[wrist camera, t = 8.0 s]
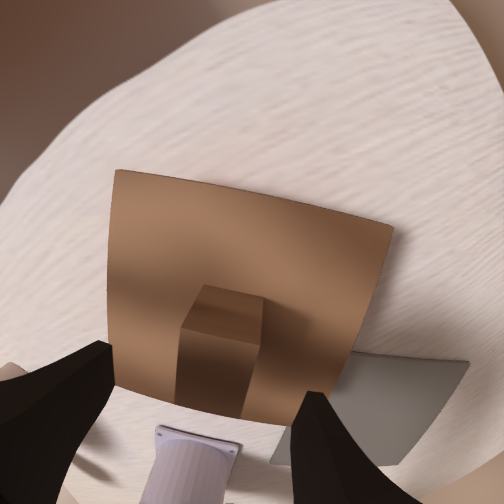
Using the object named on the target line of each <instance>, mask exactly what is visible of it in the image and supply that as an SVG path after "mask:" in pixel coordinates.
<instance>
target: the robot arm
mask: <svg viewBox="0 0 504 504" xmlns="http://www.w3.org/2000/svg"><path fill="white" fill-rule="evenodd" d="M114 386H115V376H114V364H113V348H112V345H111V344H108V343H105V342H102V341H100V340H98V341H96V342H93V343H91V344H89V345H87V346H86V347H84V348H82V349H80V350H78V351H76V352H74V353H72V354H70V355H68V356H66V357H64V358H62V359H60V360H58V361H56V362H54V363H51V364H49V365H47V366H45V367H42V368H40V369H38V370H35V371H33V372H30V373H27V374H25V375H22V376H18V377H15V378H12V379H8V380H4V381H0V504H56V502H57V499H58V495H59V492H60V489H61V486H62V484H63V481H64V479H65V476H66V473H67V471H68V469H69V466H70V464H71V462H72V460H73V457H74V455H75V453H76V451H77V449H78V447H79V446H80V444H81V442H82V441H83V439H84V438H85V436H86V434H87V433H88V431H89V430H90V428H91V427H92V425H93V424H94V422H95V421H96V419H97V418H98V416H99V414H100V413H101V411H102V410H103V408H104V407H105V405H106V403H107V401H108V399H109V397H110V395H111V392H112V390H113V388H114ZM155 443H156V459H155V461H154V464H153V467H152V469H151V472H150V475H149V478H148V480H147V483H146V486H145V489H144V491H143V494H142V497H141V500H140V502H139V504H223V501H224V494H225V488H226V484H227V481H228V479H229V476H230V473H231V470H232V467H233V464H234V461H235V458H236V455H237V452H238V449H239V446H238V445H237V444H233V443H228V442H223V441H218V440H213V439H208V438H204V437H200V436H195V435H191V434H187V433H183V432H180V431H176V430H172V429H169V428H165V427H162V426H157V427H156V429H155ZM290 456H291V469H292V482H293V494H294V504H422V503H421V502H419V501H418V500H416V499H414V498H413V497H411V496H410V495H409V494H407V493H406V492H405V491H403V490H402V489H401V488H399V487H398V486H397V485H396V484H395V483H393V482H392V481H391V480H390V479H389V478H388V477H387V476H386V475H384V474H383V473H382V472H381V471H380V470H379V469H378V467H377V466H376V465H375V464H374V463H373V462H372V461H371V460H370V459H369V458H368V457H367V456H366V454H365V453H364V452H363V451H362V449H361V448H360V447H359V446H358V444H357V443H356V442H355V440H354V439H353V438H352V436H351V435H350V433H349V432H348V430H347V429H346V427H345V426H344V424H343V423H342V421H341V420H340V418H339V417H338V415H337V414H336V412H335V410H334V409H333V407H332V406H331V404H330V402H329V401H328V399H327V397H326V396H325V394H324V393H323V392H314V391H307V392H306V395H305V397H304V399H303V402H302V404H301V406H300V408H299V410H298V413H297V415H296V417H295V419H294V421H293V423H292V425H291V438H290Z"/></svg>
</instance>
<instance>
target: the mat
mask: <svg viewBox="0 0 504 504" xmlns="http://www.w3.org/2000/svg"><path fill="white" fill-rule="evenodd" d="M469 366H470V363H469V361H447V360H430V359H416V358H404V357H394V356H384V355H375V354H366V353H358V352H350V354H349V356H348V359H347V361H346V363H345V365H344V368H343V370H342V372H341V374H340V376H339V378H338V381H337V383H336V385H335V387H334V389H333V391H332V393H331V395H330V397H329V399H328V401H329V402H330V404H331V406H332V407H333V409H334V410H335V412H336V414H337V415H338V417H339V418H340V420H341V421H342V423H343V424H344V426H345V427H346V429H347V430H348V432H349V433H350V435H351V436H352V438H353V439H354V440H355V442H356V443H357V444H358V446H359V447H360V448H361V449H362V451H363V452H364V453H365V454H366V456H367V457H368V458H369V459H370V460H371V461H372V462H373V463H374V464H375V465H376V466H377V467H378V466H391V465H398V464H399V463H400V462H401V461H402V460H403V459H404V457H405V456H406V455H407V454H408V453H409V452H410V450H411V449H412V448H413V447H414V446H415V444H416V443H417V442H418V441H419V440H420V438H421V437H422V436H423V434H424V433H425V432H426V431H427V429H428V428H429V427H430V425H431V424H432V423H433V421H434V420H435V419H436V417H437V416H438V414H439V413H440V412H441V410H442V409H443V407H444V406H445V404H446V403H447V401H448V400H449V398H450V397H451V395H452V394H453V392H454V391H455V389H456V387H457V386H458V384H459V383H460V381H461V379H462V378H463V376H464V374H465V373H466V371H467V369H468V367H469ZM290 438H291V427H290V426H287V427H286V429H285V431H284V433H283V435H282V437H281V440H280V442H279V444H278V446H277V448H276V450H275V452H274V454H273V456H272V458H271V460H270V464H277V465H288V466H291V456H290Z"/></svg>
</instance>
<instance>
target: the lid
mask: <svg viewBox="0 0 504 504" xmlns="http://www.w3.org/2000/svg"><path fill="white" fill-rule="evenodd" d="M393 230H394V227H392V226H390V225H388V224H384V223H381V222H377V221H373V220H369V219H366V218H362V217H358V216H354V215H350V214H346V213H343V212H339V211H335V210H331V209H326V208H322V207H318V206H314V205H310V204H305V203H301V202H297V201H292V200H288V199H283V198H279V197H274V196H270V195H265V194H260V193H255V192H251V191H246V190H241V189H236V188H231V187H225V186H220V185H215V184H209V183H204V182H198V181H193V180H187V179H181V178H175V177H169V176H163V175H156V174H150V173H143V172H136V171H129V170H122V169H120V170H115V177H114V184H113V193H112V202H111V213H110V225H109V240H108V262H107V319H108V341H109V344H111V345H112V348H113V364H114V376H115V385H116V386H119V387H121V388H124V389H127V390H130V391H133V392H136V393H139V394H142V395H145V396H148V397H152V398H155V399H158V400H162V401H165V402H168V403H172V404H175V405H179V406H182V407H186V408H190V409H194V410H198V411H202V412H207V413H211V414H216V415H221V416H225V417H230V418H236V419H242V420H248V421H254V422H260V423H267V424H274V425H281V426H290V427H291V425H292V423H293V421H294V419H295V417H296V415H297V413H298V410H299V408H300V406H301V404H302V402H303V399H304V397H305V395H306V392H307V391H314V392H323V393H324V394H325V396H326V397H327V399H329V397H330V395H331V393H332V391H333V389H334V387H335V385H336V383H337V381H338V378H339V376H340V374H341V372H342V370H343V368H344V365H345V363H346V361H347V359H348V356H349V354H350V352H351V349H352V347H353V345H354V342H355V340H356V337H357V335H358V332H359V330H360V328H361V325H362V322H363V320H364V317H365V315H366V312H367V309H368V307H369V304H370V301H371V299H372V296H373V293H374V290H375V287H376V284H377V281H378V279H379V276H380V273H381V269H382V266H383V263H384V260H385V257H386V254H387V250H388V247H389V244H390V240H391V237H392V233H393Z"/></svg>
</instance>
